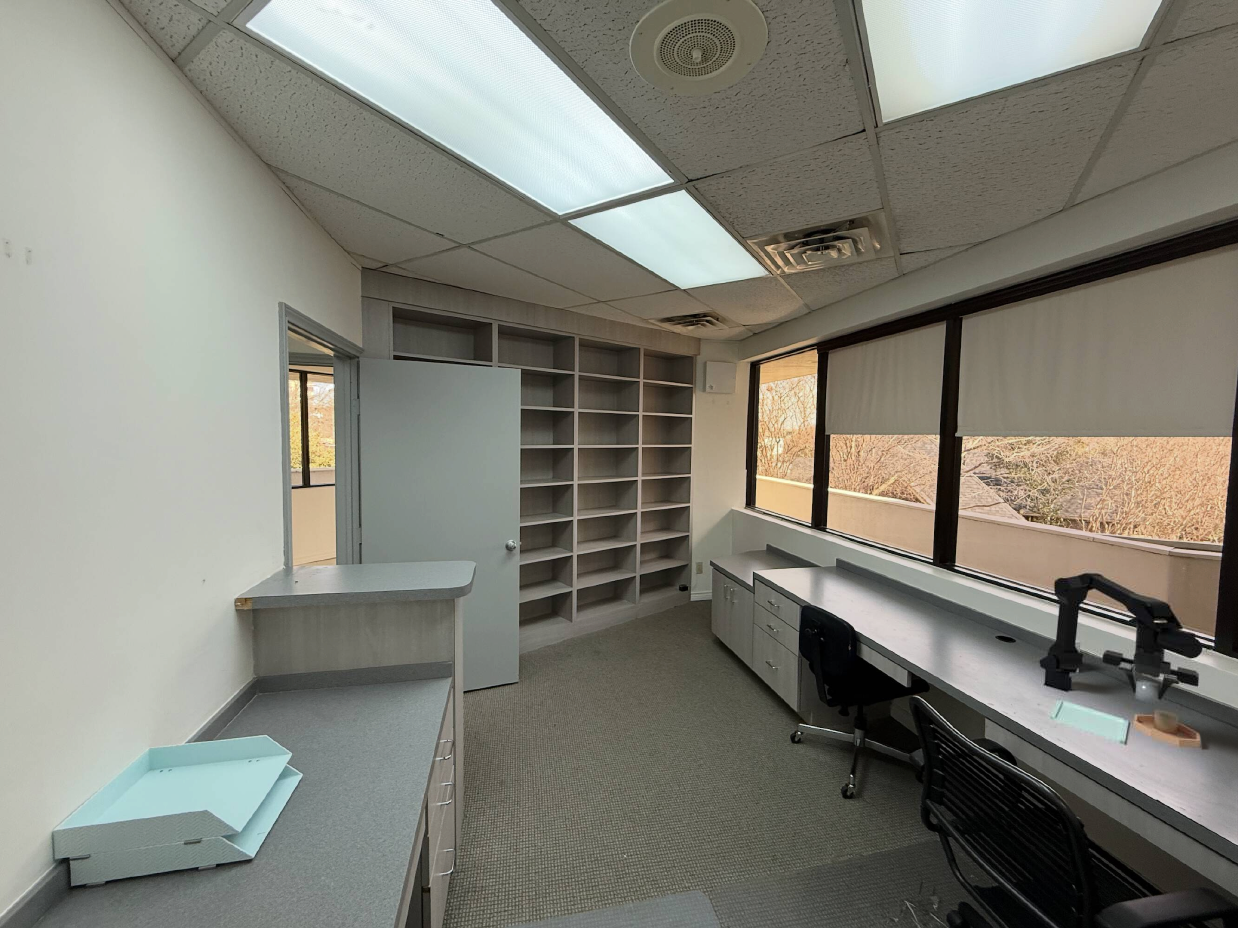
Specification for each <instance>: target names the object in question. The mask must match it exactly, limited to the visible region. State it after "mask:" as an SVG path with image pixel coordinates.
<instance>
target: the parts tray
mask: <svg viewBox="0 0 1238 928" xmlns="http://www.w3.org/2000/svg"><path fill="white" fill-rule="evenodd" d="M1049 720H1050V721H1052V722H1056V723H1059V724H1061V725H1064V726H1068V727H1071V728H1074V729H1076V730H1079V731H1083V732H1085V733H1089V734H1091V735H1094V736H1098V737H1101V738H1104V739H1107V740H1110V741H1113V742H1116V743H1119V744H1122V745H1125V744H1126V739H1127V735H1128V734H1127V733H1128V728H1129V721H1130V720H1128V719H1125V718H1122V717H1119V716H1116V715H1113V714H1108V713H1106V712H1102V711H1099V710H1097V709H1092V708H1090V707H1087V706H1083V705H1079V704H1077V703H1074V702H1070V701H1066V700H1064V699H1060V698H1058V699H1057V701H1056V703H1055V705H1054V708H1053V710H1052V712H1051V714H1050V716H1049Z"/></svg>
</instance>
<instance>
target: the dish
mask: <svg viewBox="0 0 1238 928" xmlns="http://www.w3.org/2000/svg"><path fill="white" fill-rule="evenodd" d="M1154 716H1155V714H1137V713H1134V718H1133V726H1132V727H1133V728H1135V729H1136V730H1138V731H1139V732H1141V733H1143V734H1145V735H1147V736H1149V737H1150V738H1152V739H1155V740H1158V741H1162V742H1165V743H1168V744H1171V745H1174V746H1178V747H1185V748H1186V747H1187V748H1201V747H1200V745H1201V734H1200V733H1199V732H1197V731H1196V730H1194V729H1192V728H1190V727H1188V726H1186V725H1184V724H1182V723H1180V722H1178V728H1177V734H1176V735H1172V734H1167V733H1164V732H1161V731H1159V730H1157V729H1155V728H1154Z"/></svg>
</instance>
